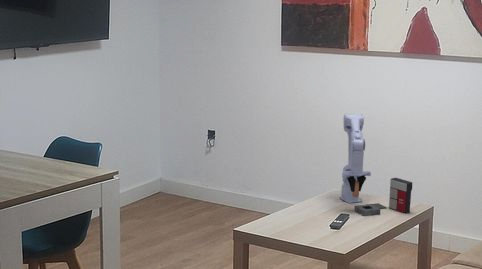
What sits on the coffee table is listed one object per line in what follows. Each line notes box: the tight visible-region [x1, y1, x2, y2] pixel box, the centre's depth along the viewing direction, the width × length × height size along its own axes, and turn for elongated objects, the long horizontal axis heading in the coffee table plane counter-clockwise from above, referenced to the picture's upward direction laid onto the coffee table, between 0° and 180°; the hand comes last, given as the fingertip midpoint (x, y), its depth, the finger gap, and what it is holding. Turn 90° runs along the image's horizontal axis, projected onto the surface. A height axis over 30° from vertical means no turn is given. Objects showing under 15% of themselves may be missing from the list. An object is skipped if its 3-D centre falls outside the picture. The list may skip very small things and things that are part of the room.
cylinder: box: [352, 181, 360, 197], centre depth 374 cm, size 3×3×7 cm
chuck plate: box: [354, 203, 382, 217], centre depth 372 cm, size 9×9×2 cm
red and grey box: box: [388, 177, 413, 214], centre depth 375 cm, size 11×4×15 cm, turn 37°
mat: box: [365, 202, 388, 210], centre depth 381 cm, size 8×8×1 cm
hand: (355, 191), depth 374 cm, fingers closed on cylinder, 3 cm apart
